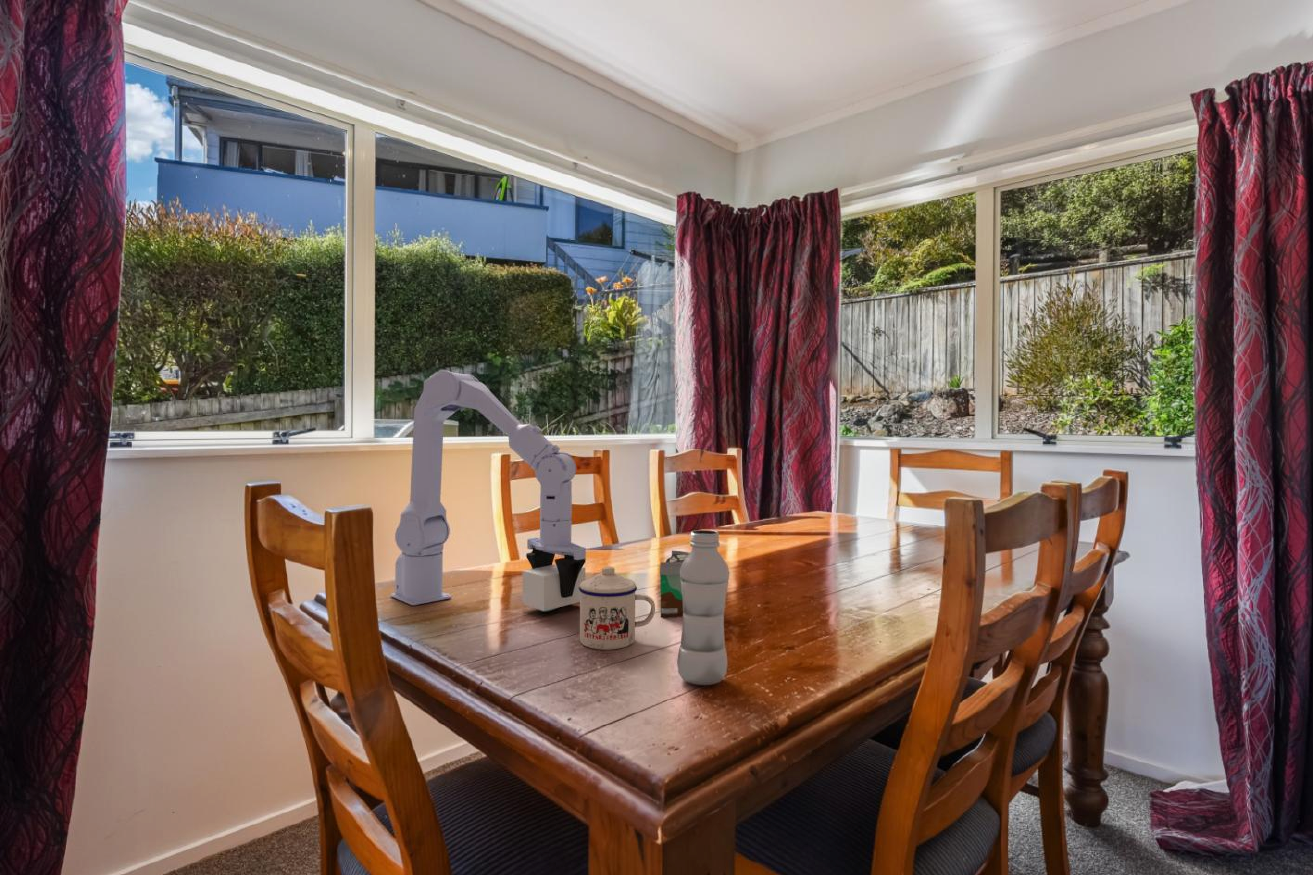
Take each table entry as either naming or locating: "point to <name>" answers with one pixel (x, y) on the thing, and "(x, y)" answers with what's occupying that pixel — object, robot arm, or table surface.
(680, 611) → the food container
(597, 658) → the table surface
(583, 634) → the teacup with lid
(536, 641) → the table surface
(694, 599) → the plastic bottle
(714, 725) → the table surface
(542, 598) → the white block
